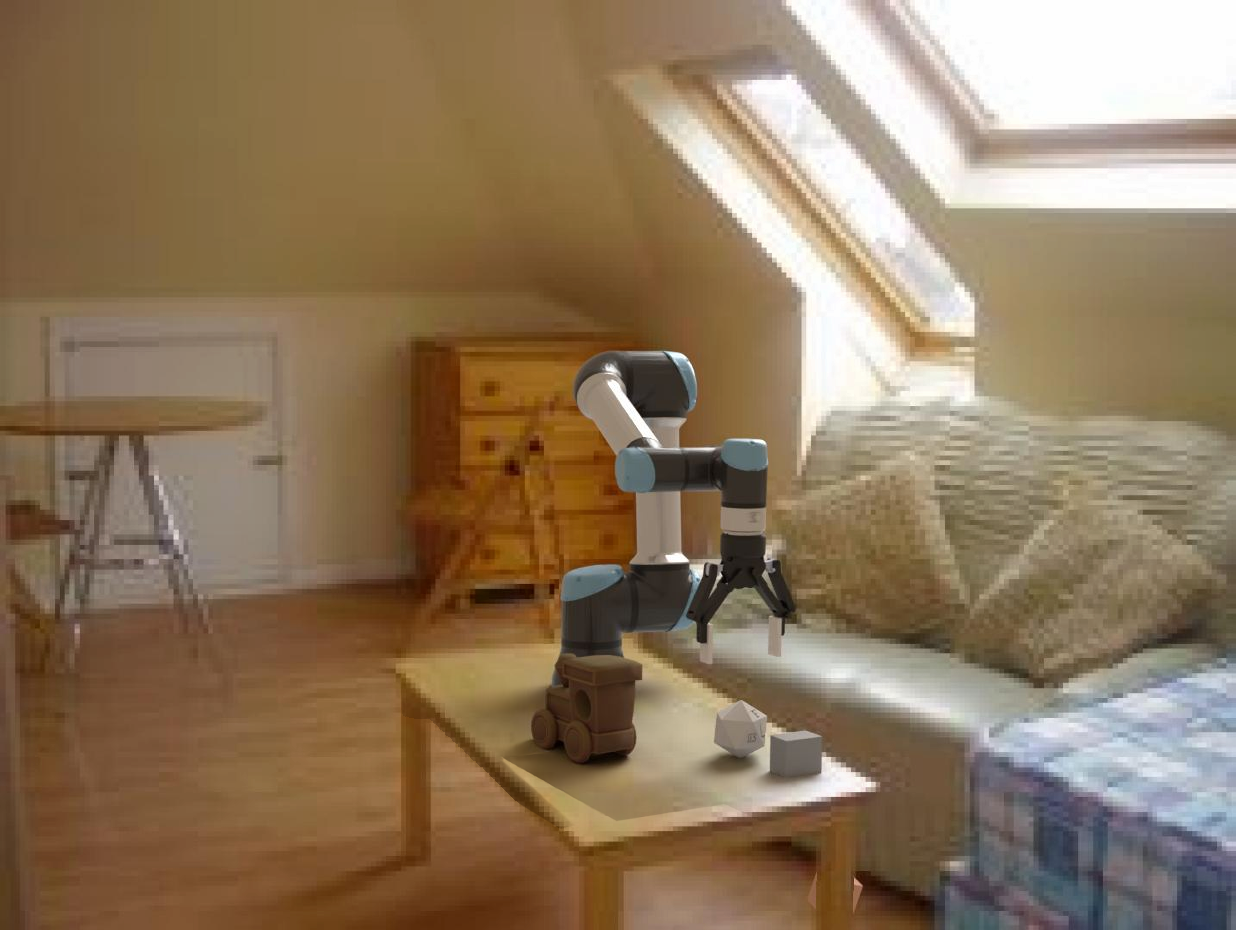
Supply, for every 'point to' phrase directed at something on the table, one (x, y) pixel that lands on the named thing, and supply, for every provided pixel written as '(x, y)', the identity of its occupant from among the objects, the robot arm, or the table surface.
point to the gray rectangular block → (795, 754)
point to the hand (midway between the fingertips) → (740, 659)
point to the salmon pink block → (856, 893)
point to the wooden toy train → (589, 706)
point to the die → (740, 729)
